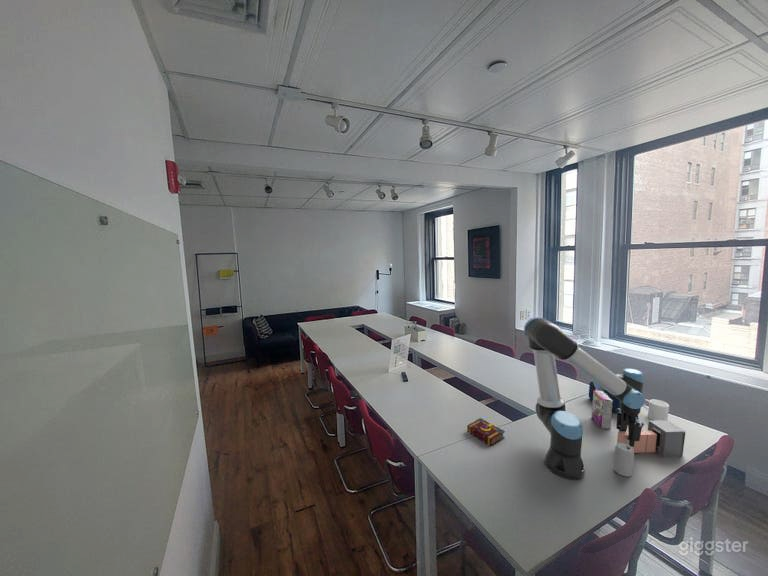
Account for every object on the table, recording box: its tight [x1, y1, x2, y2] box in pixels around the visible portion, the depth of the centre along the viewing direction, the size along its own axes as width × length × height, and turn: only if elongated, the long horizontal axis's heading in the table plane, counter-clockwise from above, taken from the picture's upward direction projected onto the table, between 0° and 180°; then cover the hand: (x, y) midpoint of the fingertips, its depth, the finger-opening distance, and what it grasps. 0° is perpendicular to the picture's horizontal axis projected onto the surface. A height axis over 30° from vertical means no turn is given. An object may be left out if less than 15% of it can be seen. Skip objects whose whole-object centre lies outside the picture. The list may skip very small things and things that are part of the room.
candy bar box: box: [591, 390, 613, 430], centre depth 165 cm, size 11×5×16 cm, turn 168°
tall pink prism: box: [616, 430, 657, 454], centre depth 143 cm, size 16×3×9 cm, turn 91°
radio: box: [588, 381, 620, 415], centre depth 182 cm, size 21×9×20 cm, turn 6°
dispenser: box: [647, 420, 687, 458], centre depth 143 cm, size 9×9×12 cm
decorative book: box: [467, 417, 506, 447], centre depth 158 cm, size 11×16×5 cm
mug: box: [642, 398, 670, 421], centre depth 170 cm, size 8×12×10 cm, turn 23°
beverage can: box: [612, 442, 635, 477], centre depth 130 cm, size 6×6×12 cm
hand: (625, 448), depth 143 cm, fingers closed on tall pink prism, 3 cm apart
